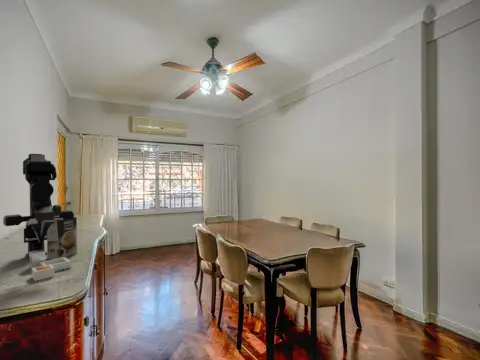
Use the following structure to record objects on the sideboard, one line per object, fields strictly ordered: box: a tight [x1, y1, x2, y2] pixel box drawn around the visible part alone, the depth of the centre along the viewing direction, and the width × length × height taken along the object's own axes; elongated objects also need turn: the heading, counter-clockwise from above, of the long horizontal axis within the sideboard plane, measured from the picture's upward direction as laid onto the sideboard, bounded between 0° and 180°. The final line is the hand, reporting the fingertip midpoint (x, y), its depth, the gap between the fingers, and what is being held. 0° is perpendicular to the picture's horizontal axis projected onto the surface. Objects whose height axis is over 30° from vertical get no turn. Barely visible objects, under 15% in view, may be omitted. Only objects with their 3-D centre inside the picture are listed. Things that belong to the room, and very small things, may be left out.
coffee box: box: [46, 216, 78, 260], centre depth 111 cm, size 9×6×16 cm
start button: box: [37, 265, 49, 271], centre depth 87 cm, size 3×3×2 cm
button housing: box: [31, 264, 56, 282], centre depth 87 cm, size 5×5×3 cm
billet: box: [28, 249, 46, 270], centre depth 97 cm, size 4×4×6 cm
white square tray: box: [39, 257, 72, 272], centre depth 96 cm, size 8×8×2 cm
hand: (41, 242), depth 90 cm, fingers closed
